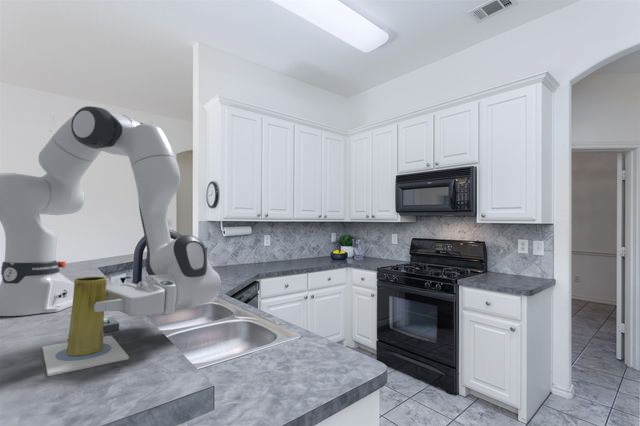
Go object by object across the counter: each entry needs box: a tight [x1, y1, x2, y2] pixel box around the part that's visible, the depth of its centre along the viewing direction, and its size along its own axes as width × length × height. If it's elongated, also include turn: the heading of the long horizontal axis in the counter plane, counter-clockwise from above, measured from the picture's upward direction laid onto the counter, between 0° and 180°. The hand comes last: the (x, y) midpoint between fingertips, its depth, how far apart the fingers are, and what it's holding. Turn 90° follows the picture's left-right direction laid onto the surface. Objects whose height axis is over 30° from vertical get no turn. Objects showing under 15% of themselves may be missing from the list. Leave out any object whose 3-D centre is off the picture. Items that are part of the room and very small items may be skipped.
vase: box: [66, 276, 107, 356], centre depth 64 cm, size 6×6×14 cm
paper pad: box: [41, 335, 130, 377], centre depth 64 cm, size 16×12×1 cm
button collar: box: [103, 316, 120, 333], centre depth 79 cm, size 7×7×2 cm
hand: (85, 303), depth 64 cm, fingers open, 8 cm apart
